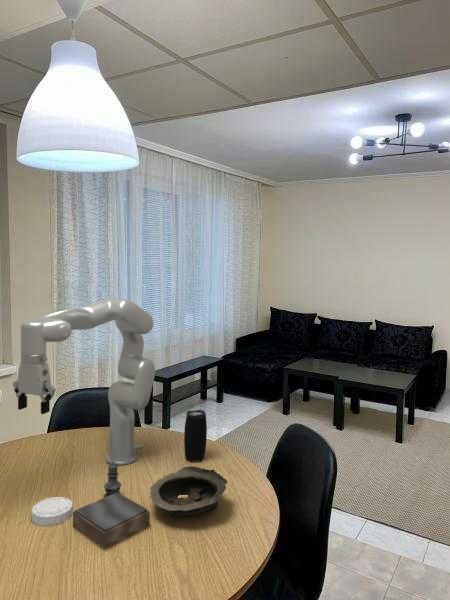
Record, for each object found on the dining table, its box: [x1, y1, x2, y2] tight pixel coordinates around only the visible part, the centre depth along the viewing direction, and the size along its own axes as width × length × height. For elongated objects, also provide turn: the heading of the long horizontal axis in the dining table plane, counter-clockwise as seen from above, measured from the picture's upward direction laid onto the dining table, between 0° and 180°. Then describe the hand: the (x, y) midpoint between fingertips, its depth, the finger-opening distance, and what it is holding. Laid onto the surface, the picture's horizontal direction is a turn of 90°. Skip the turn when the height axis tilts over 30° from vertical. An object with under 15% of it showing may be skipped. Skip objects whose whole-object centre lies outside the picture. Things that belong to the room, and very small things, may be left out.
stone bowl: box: [149, 465, 228, 517], centre depth 145 cm, size 25×25×9 cm
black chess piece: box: [103, 461, 122, 498], centre depth 151 cm, size 6×6×12 cm
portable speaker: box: [183, 409, 208, 463], centre depth 183 cm, size 9×9×20 cm
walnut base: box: [72, 491, 151, 550], centre depth 133 cm, size 16×16×5 cm
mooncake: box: [30, 496, 74, 527], centre depth 138 cm, size 12×12×4 cm
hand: (33, 410), depth 146 cm, fingers open, 9 cm apart
